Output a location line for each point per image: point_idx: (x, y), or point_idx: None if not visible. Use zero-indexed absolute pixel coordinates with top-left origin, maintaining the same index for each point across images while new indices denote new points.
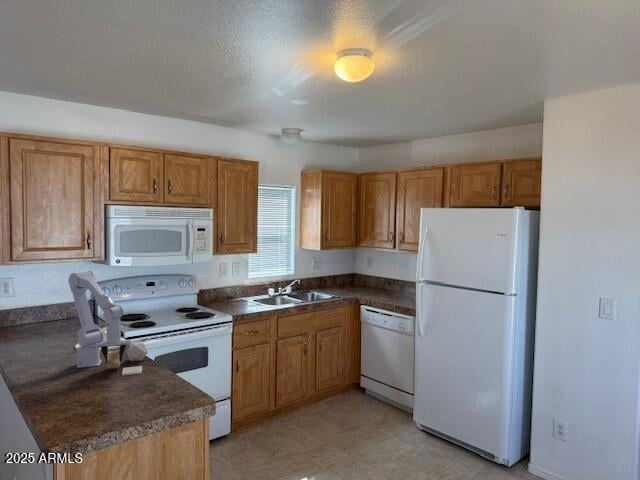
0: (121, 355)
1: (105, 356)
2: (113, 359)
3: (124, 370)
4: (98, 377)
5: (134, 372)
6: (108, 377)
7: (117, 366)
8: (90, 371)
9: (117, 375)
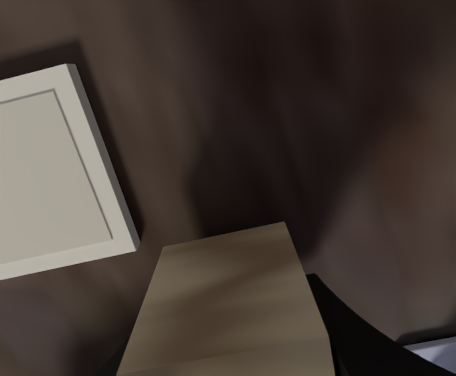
0: (114, 363)
1: (351, 324)
2: (220, 288)
3: (88, 175)
4: (318, 28)
5: None
6: (204, 15)
7: (183, 243)
8: (442, 223)
9: (128, 76)
